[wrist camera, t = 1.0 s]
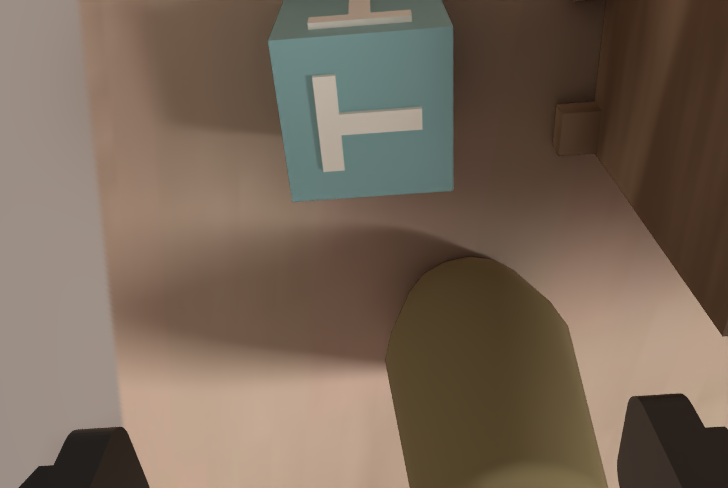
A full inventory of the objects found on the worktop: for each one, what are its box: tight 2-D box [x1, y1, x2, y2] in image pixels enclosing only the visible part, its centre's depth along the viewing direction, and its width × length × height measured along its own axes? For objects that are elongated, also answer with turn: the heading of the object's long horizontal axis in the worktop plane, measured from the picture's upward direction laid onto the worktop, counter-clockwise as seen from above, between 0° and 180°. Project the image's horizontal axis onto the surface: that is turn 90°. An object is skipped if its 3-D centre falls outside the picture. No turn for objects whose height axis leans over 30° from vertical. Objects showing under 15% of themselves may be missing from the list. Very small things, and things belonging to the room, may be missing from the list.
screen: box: [553, 0, 728, 336], centre depth 20 cm, size 5×8×12 cm, turn 4°
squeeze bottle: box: [385, 257, 608, 488], centre depth 25 cm, size 8×8×18 cm
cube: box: [268, 0, 453, 202], centre depth 23 cm, size 6×6×6 cm
